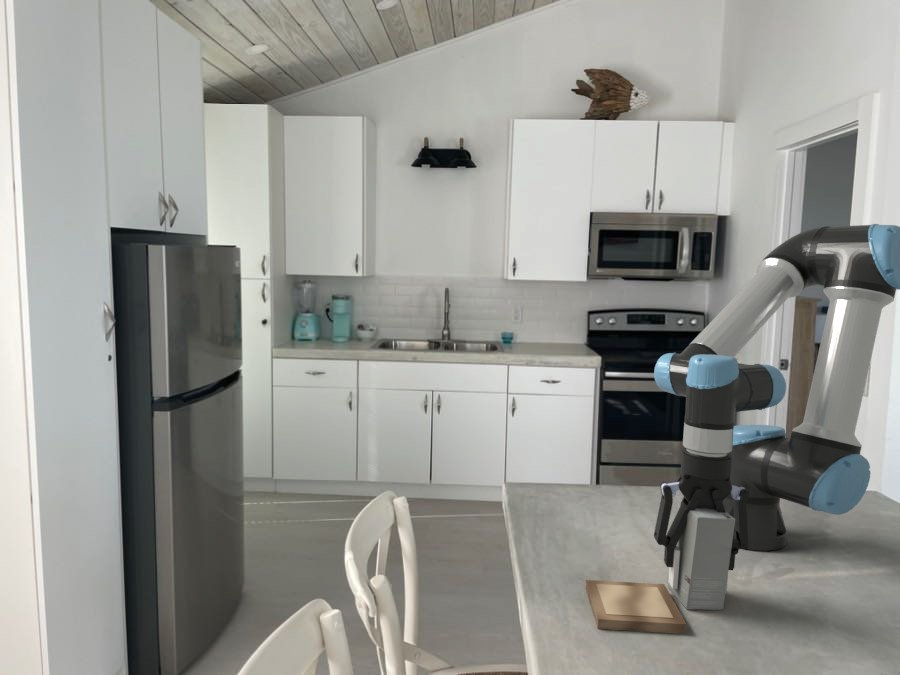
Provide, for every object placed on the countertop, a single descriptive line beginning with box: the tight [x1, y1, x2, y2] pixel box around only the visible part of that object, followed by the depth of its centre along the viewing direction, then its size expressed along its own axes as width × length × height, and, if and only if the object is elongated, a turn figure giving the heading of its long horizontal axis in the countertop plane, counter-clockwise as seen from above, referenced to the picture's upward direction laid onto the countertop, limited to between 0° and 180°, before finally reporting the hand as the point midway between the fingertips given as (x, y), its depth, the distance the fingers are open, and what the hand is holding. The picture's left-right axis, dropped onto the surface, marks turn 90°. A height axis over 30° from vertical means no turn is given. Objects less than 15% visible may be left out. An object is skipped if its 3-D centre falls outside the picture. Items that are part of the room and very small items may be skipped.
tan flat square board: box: [585, 579, 687, 635], centre depth 108 cm, size 13×13×2 cm
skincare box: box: [666, 498, 735, 611], centre depth 112 cm, size 8×7×16 cm
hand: (697, 586), depth 113 cm, fingers closed on skincare box, 7 cm apart
